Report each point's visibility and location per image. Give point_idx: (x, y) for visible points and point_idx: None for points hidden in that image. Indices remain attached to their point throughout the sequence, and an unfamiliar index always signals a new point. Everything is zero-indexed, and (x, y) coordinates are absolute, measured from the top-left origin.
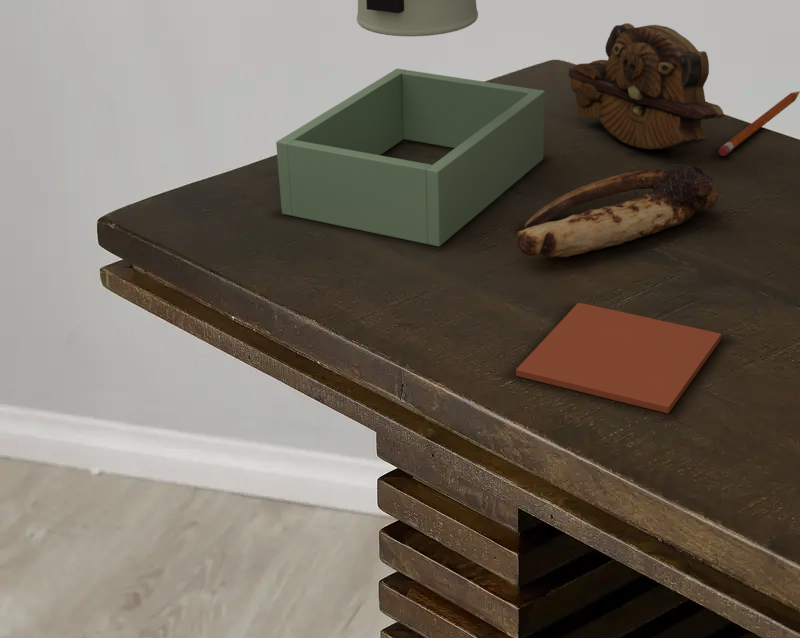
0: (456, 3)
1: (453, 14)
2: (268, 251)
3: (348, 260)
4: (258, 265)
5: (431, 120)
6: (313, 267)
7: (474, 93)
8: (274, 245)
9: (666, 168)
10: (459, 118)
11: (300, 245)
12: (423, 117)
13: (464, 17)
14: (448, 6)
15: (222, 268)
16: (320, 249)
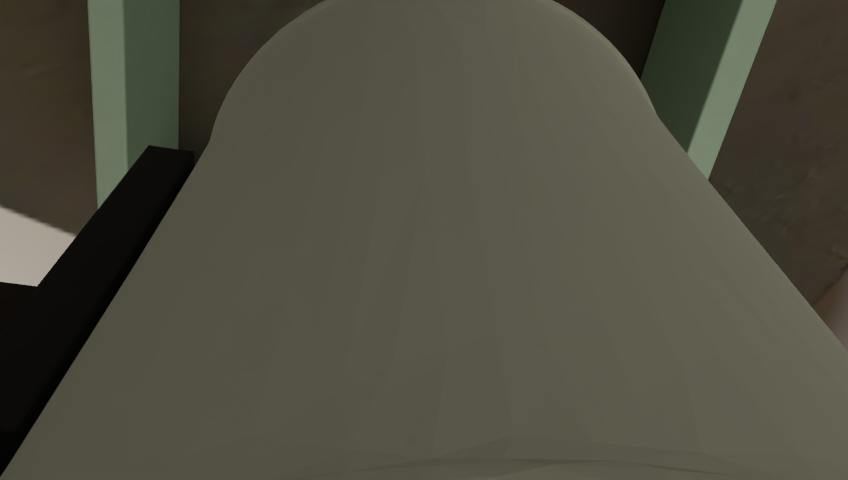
0: (584, 45)
1: (592, 42)
2: (769, 209)
3: (801, 58)
4: (828, 203)
5: (162, 115)
6: (834, 110)
7: (133, 16)
8: (743, 209)
9: None
10: (157, 44)
11: (740, 167)
12: (162, 137)
13: (529, 4)
14: (617, 70)
15: (841, 252)
16: (755, 126)
